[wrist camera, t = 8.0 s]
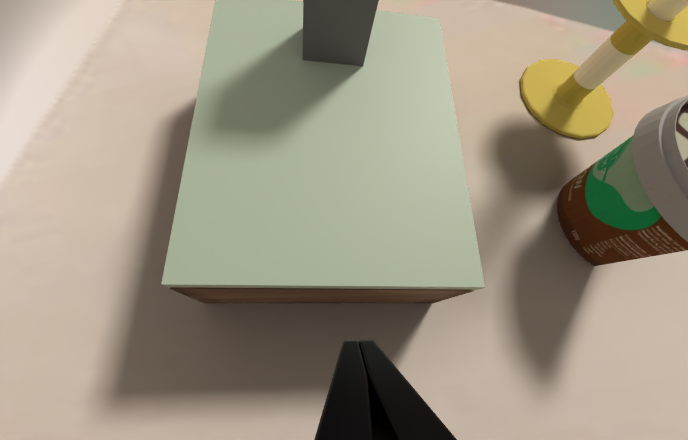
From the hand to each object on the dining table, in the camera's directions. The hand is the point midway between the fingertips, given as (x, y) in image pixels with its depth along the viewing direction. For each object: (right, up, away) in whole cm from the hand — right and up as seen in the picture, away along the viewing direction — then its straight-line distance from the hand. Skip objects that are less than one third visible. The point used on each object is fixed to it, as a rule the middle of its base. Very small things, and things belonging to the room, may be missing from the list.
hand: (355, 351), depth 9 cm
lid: (-1, +9, +11) cm, 15 cm away
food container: (+21, +5, +19) cm, 29 cm away
